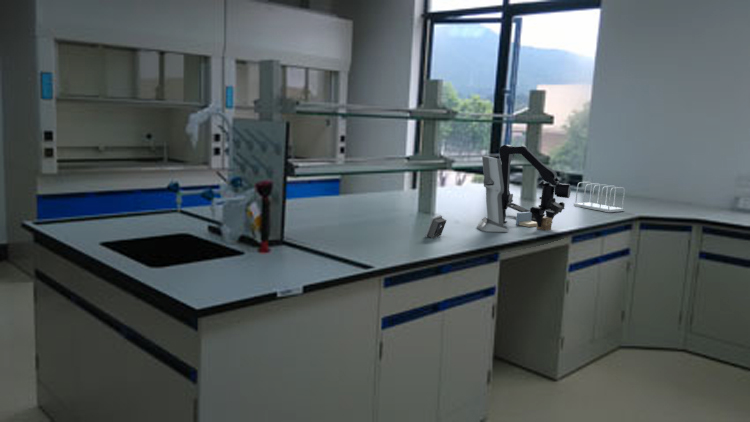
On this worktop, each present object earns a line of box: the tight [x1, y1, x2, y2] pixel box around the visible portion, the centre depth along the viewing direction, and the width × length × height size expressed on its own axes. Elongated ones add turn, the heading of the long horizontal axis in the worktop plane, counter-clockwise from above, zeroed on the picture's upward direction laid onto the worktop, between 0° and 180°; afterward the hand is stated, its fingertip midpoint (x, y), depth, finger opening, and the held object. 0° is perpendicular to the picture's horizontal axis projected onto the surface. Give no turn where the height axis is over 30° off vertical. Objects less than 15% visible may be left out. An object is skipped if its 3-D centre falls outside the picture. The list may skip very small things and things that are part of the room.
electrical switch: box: [424, 215, 447, 239], centre depth 263 cm, size 9×5×9 cm, turn 147°
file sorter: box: [573, 181, 626, 213], centre depth 378 cm, size 25×17×16 cm
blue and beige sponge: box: [515, 212, 537, 228], centre depth 306 cm, size 7×11×6 cm, turn 130°
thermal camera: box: [476, 155, 508, 233], centre depth 285 cm, size 12×13×35 cm
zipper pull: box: [508, 202, 536, 222], centre depth 324 cm, size 9×7×25 cm
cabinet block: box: [536, 215, 553, 231], centre depth 298 cm, size 6×5×6 cm
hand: (544, 226), depth 298 cm, fingers open, 7 cm apart
